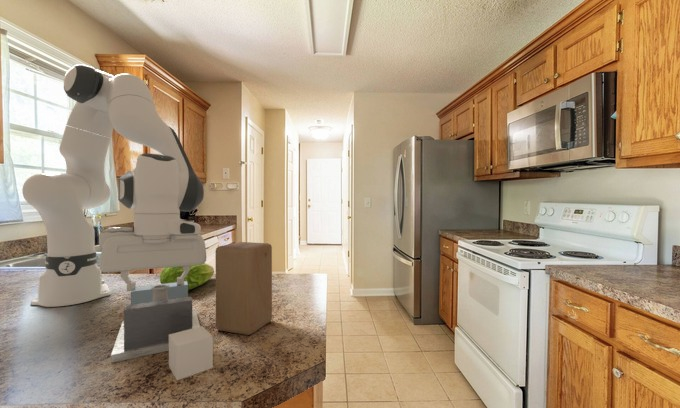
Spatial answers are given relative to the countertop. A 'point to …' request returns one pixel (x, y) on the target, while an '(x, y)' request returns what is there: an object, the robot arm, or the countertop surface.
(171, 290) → the sliding jaw
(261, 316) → the wooden block
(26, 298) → the countertop surface
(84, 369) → the countertop surface
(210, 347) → the white cube
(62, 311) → the countertop surface
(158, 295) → the flask
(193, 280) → the lettuce
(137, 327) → the base
